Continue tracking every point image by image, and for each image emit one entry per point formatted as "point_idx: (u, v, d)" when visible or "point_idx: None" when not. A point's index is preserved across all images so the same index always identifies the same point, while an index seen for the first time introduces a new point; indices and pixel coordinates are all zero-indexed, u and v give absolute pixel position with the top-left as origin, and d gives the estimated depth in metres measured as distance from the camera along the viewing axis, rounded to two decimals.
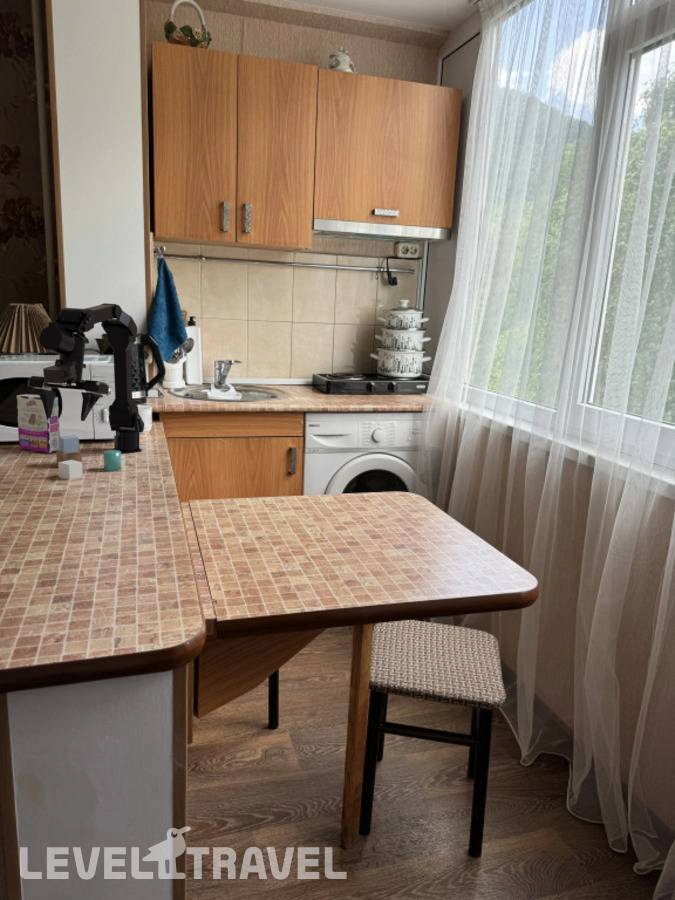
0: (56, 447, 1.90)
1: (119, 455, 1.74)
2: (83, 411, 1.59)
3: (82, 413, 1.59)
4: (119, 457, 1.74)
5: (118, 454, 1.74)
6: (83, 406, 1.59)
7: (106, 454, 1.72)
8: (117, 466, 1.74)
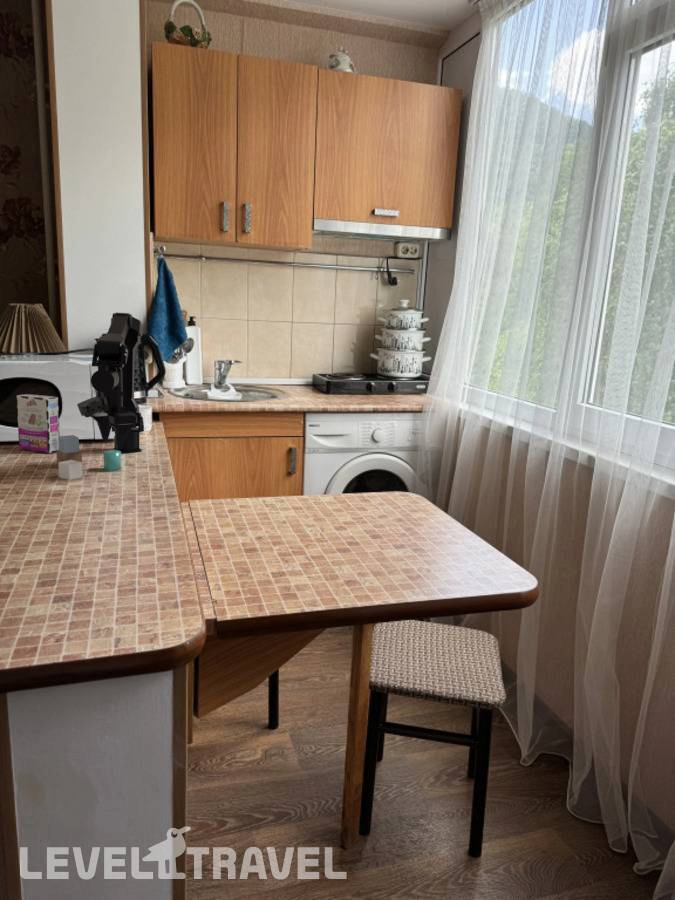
0: (56, 447, 1.90)
1: (119, 455, 1.74)
2: (116, 440, 1.69)
3: (116, 441, 1.70)
4: (119, 457, 1.74)
5: (118, 454, 1.74)
6: (115, 435, 1.69)
7: (106, 454, 1.72)
8: (117, 466, 1.74)
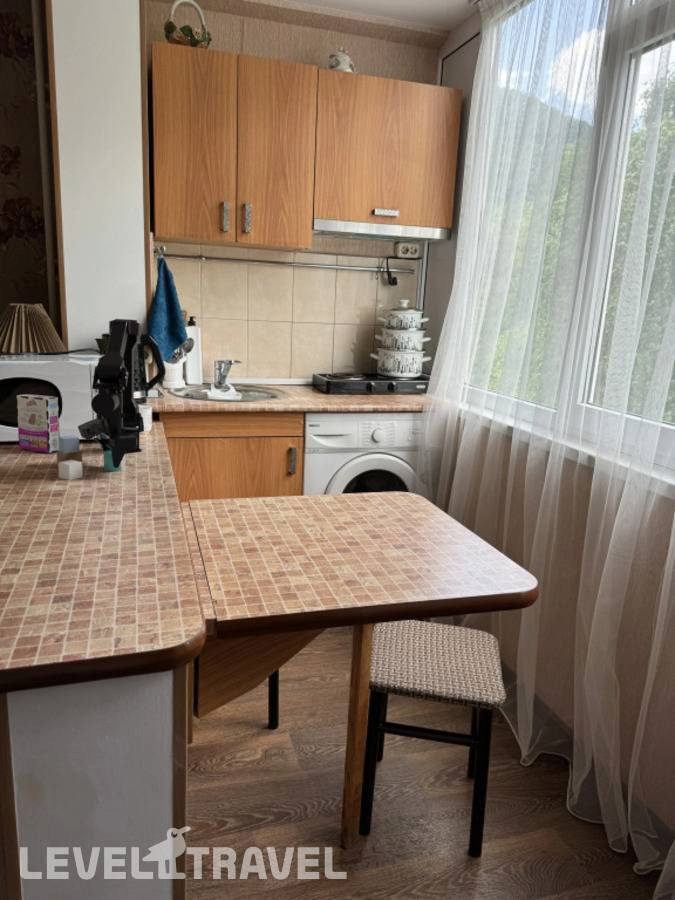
0: (56, 447, 1.90)
1: None
2: (113, 460, 1.72)
3: (113, 461, 1.72)
4: None
5: None
6: (112, 455, 1.72)
7: (106, 454, 1.72)
8: None
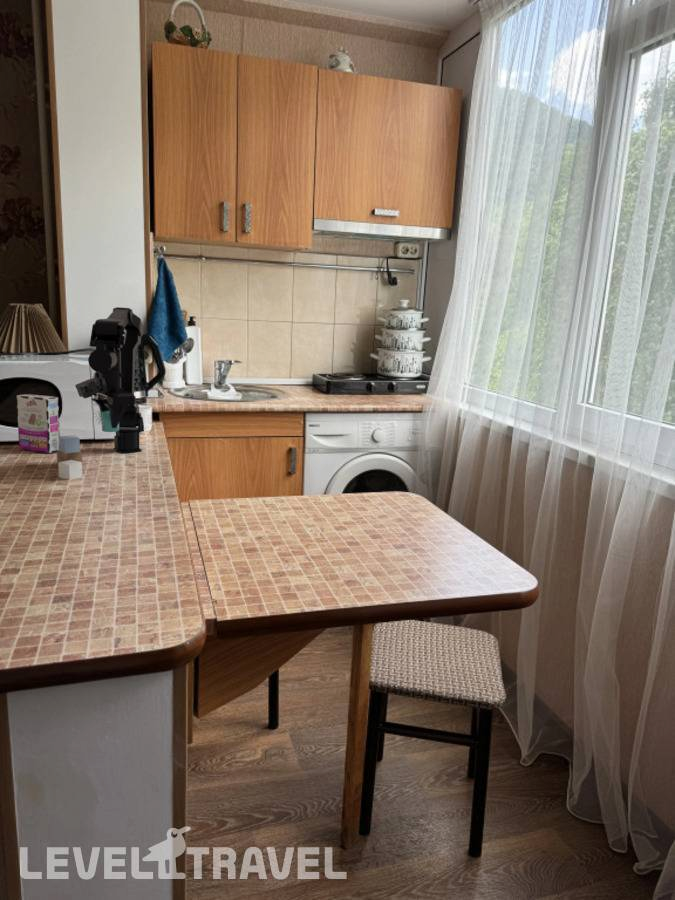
0: (56, 447, 1.90)
1: None
2: (111, 420, 1.70)
3: (111, 421, 1.70)
4: None
5: None
6: (110, 415, 1.69)
7: (104, 414, 1.70)
8: None
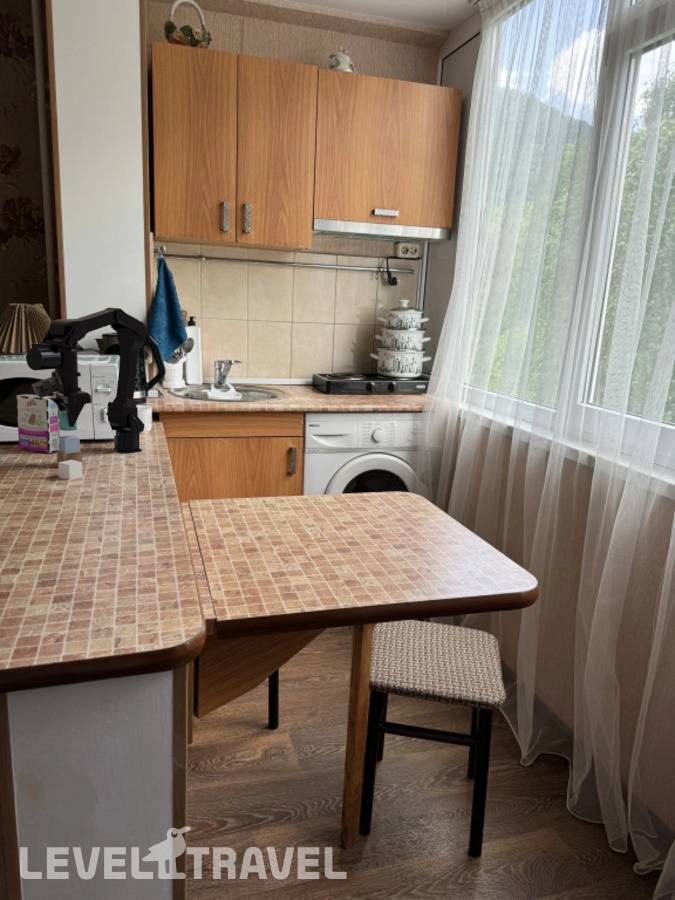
0: (56, 447, 1.90)
1: None
2: (68, 419, 1.72)
3: (68, 420, 1.72)
4: None
5: None
6: (67, 414, 1.71)
7: (61, 413, 1.72)
8: None
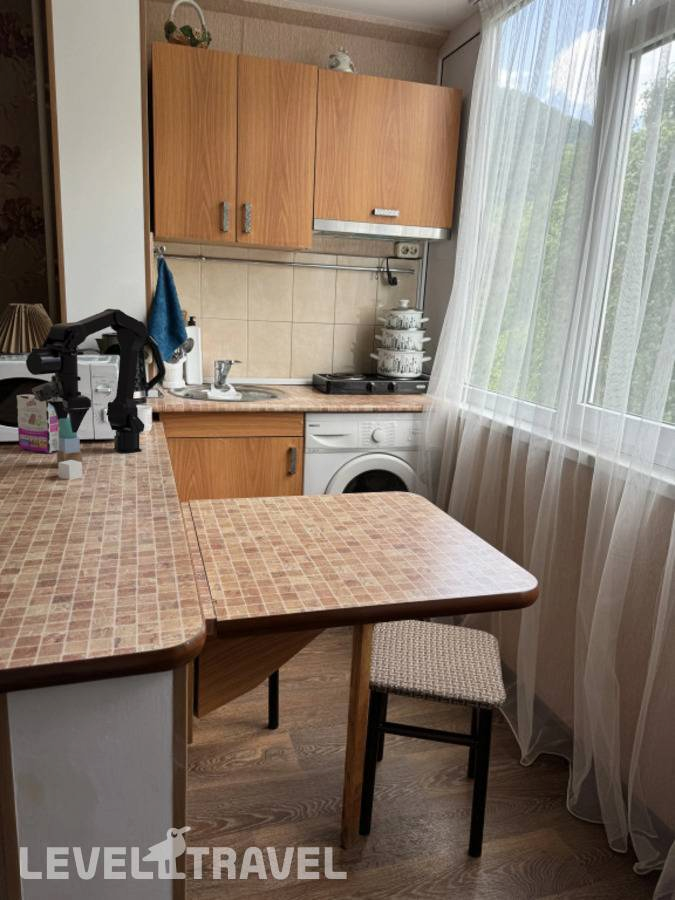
0: (56, 447, 1.90)
1: None
2: (71, 424, 1.70)
3: (71, 426, 1.71)
4: None
5: None
6: (70, 419, 1.70)
7: (61, 421, 1.73)
8: (72, 433, 1.74)
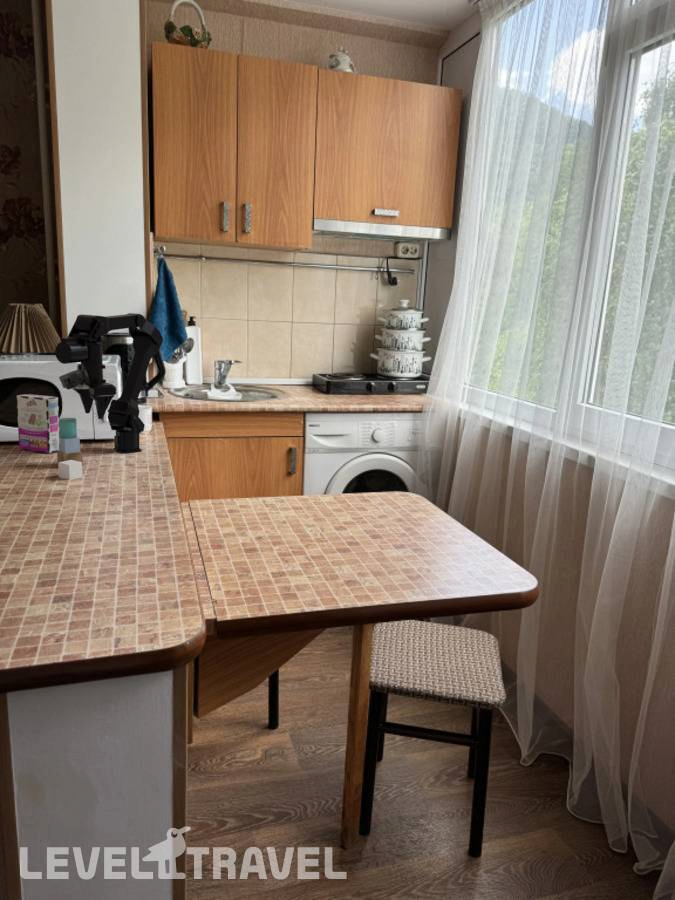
0: (56, 447, 1.90)
1: (74, 422, 1.74)
2: (97, 411, 1.77)
3: (97, 412, 1.78)
4: (74, 424, 1.74)
5: (73, 421, 1.74)
6: (96, 406, 1.77)
7: (61, 421, 1.73)
8: (72, 433, 1.74)
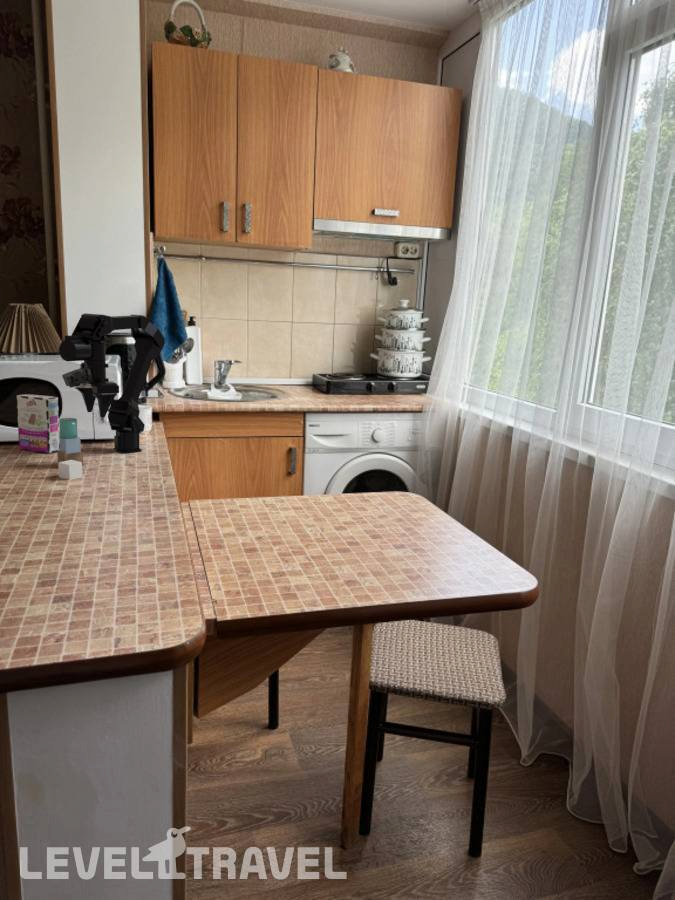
0: (56, 447, 1.90)
1: (75, 422, 1.74)
2: (99, 409, 1.78)
3: (99, 411, 1.78)
4: (75, 424, 1.74)
5: (74, 421, 1.74)
6: (99, 404, 1.78)
7: (62, 421, 1.72)
8: (73, 433, 1.74)
